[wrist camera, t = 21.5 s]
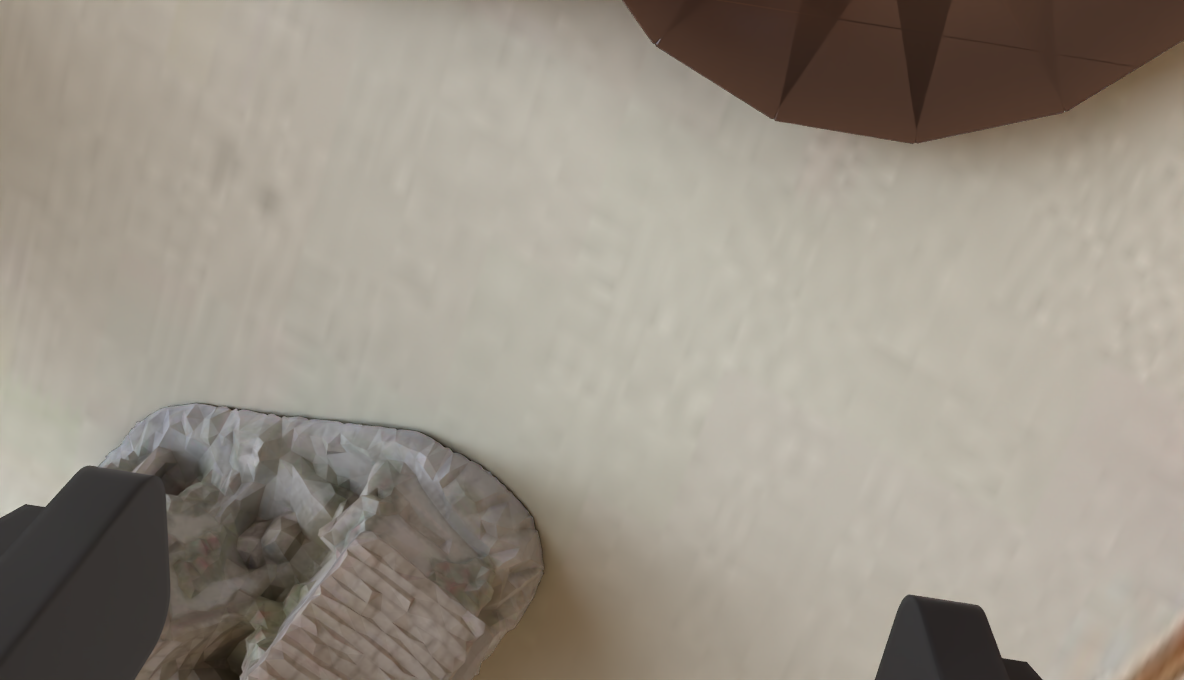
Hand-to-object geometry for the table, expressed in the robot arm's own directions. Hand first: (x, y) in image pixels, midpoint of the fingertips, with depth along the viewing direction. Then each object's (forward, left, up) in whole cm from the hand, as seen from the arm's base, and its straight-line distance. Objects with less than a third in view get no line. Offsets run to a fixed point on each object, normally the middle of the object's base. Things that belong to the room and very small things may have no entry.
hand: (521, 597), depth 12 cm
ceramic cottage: (-11, -20, -25) cm, 34 cm away
